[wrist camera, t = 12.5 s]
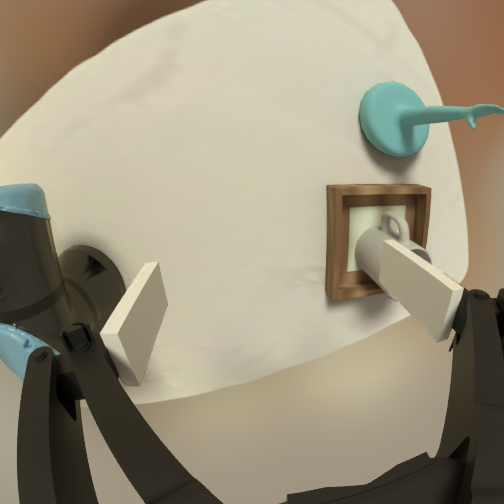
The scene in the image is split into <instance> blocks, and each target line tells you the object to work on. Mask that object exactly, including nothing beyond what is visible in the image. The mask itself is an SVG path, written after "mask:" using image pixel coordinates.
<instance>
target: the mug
mask: <svg viewBox="0 0 504 504" xmlns="http://www.w3.org/2000/svg"><path fill="white" fill-rule="evenodd" d="M391 219H392V220H394V221H395V222H396V223H397V225H398V228H399V233H397V232H396V231H394V230H392V229H391V227H390V220H391ZM383 240H395V241H396V242H398V243H400V244H401V245H403V246H404V247H406V248H407V249H409V250H410V251H412V252H413V253H415V254H416V255H418V256H419V257H421V258H422V259H424V260H425V261H427V262H428V263H430V264H431V265H432V260H431V257H430V255H429V253H428V252H427V251H426V250H425V249H424V248H422V247H421V246H419V245H418V244H416V243H414V242H413V241H411V240H410V239H409V227H408V224H407V222H406V220H405V219H404V218H403V217H402V216H401V215H400V214H398V213H395V212H391V211H389V212H385V213H383V215H382V217H381V225H376V226H373V227H370V228H369V229H367V230H366V231H365V232H364V233H363V234H362V235H361V236H360V238H359V240H358V242H357V244H356V248H355V257H356V261H357V263H358V265H359V266H360V268H361V269H362V270H363V271H364V272H366V273H367V274H368V275H369V276H370V277H371V278H372V279H373V280H374V281H375V282H376V283H377V284H378V285H379V286H380V287H381V288H382V289H383V290H384V291H385V292H386V293H387V294H388V295H389V296H390V297H391V298H392V299H393V300H395V301H398V300H397V299H396V298H395V297H394V296H393V295H392V294H391V293H390V292H389V291H388V290H387V289H386V288H385V287H384V286H383V285H382V284H381V283H380V282H379V275H380V267H381V257H382V247H383Z"/></svg>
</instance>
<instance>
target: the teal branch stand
mask: <svg viewBox="0 0 504 504" xmlns="http://www.w3.org/2000/svg"><path fill="white" fill-rule="evenodd" d="M493 113H501V114H504V108H500V107H499V106H497V105H491V104H478V105H475V106H472V107H456V106H430V107H425V106H424V104H423V102H422V100H421V99H420V98H419V97H418V95H417V94H416V93H415V92H414V91H413V90H411V89H410V88H408V87H407V86H405V85H404V84H400V83H397V82H393V81H392V82H385V83H380V84H377V85H375V86H374V87H373V88H371V89H370V90H368V91H367V92H366V93H365V95H364V97H363V99H362V100H361V103H360V110H359V117H360V122H361V127H362V129H363V131H364V133H365V136H366V138H367V139H368V141H369V142H370V143H371V144H372V145H373V146H374V147H375V148H376V149H377V150H379V151H381V152H383V153H385V154H387V155H390V156H397V157H407V156H410V155H413V154H415V153H417V152H418V151H419V150H420V149H421V148H422V147H423V146H424V144H425V142H426V140H427V138H428V133H429V124H431V123H440V122H448V121H453V120H459V119H463V118H466V120H467V122H468V124H469V125H470V126H471V128H472V129H473V130H474V129H475V124H474V122H475V121H476V119H477V118H480V117H483V116H486V115H489V114H493Z"/></svg>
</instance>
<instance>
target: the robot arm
mask: <svg viewBox="0 0 504 504" xmlns="http://www.w3.org/2000/svg"><path fill="white" fill-rule="evenodd" d="M50 220H51V217H50V215H49V214H48V209H47V204H46V199H45V194H44V191H43V189H42V188H41V187H40V186H39V185H37V184H33V183H27V184H14V185H6V186H0V358H1V360H2V361H3V362H4V363H5V364H6V366H7V367H8V368H9V369H11V371H12V372H14V373H15V374H16V375H17V376H18V377H20V378H21V379H22V380H24V382H23V388H22V395H21V402H20V410H19V411H20V412H19V421H18V437H17V477H18V491H19V501H20V504H98V500H97V497H96V493H95V489H94V486H93V482H92V477H91V473H90V468H89V463H88V458H87V453H86V448H85V442H84V435H83V427H82V419H81V409H80V400H82V399H85V400H86V402H87V404H88V406H89V409H90V411H91V413H92V415H93V417H94V419H95V421H96V424H97V425H98V427H99V430H100V432H101V433H102V435H103V437H104V439H105V441H106V443H107V445H108V446H109V448H110V450H111V452H112V454H113V455H114V457H115V459H116V460H117V462H118V464H119V465H120V467H121V468H122V470H123V472H124V473H125V475H126V476H127V478H128V479H129V481H130V482H131V484H132V485H133V487H134V488H135V489H136V491H137V492H138V494H139V495H140V496H141V498H142V499H143V501H144V502H145V504H223V503H222V502H221V501H220V500H219V499H218V498H216V497H215V496H214V495H213V494H212V493H211V492H210V491H209V490H208V489H207V488H206V487H205V486H204V485H203V484H202V483H200V482H199V481H198V480H197V479H195V478H194V477H193V476H192V475H191V474H190V473H189V472H188V471H187V470H186V469H185V468H184V467H183V466H182V465H181V463H179V461H178V460H177V459H176V458H175V457H174V456H173V455H172V453H171V452H170V451H169V450H168V449H167V447H166V446H165V445H164V444H163V443H162V441H161V440H160V439H159V437H158V436H157V435H156V434H155V433H154V431H153V430H152V429H151V427H150V426H149V425H148V423H147V422H146V421H145V419H144V418H143V417H142V415H141V414H140V412H139V411H138V410H137V408H136V407H135V405H134V404H133V402H132V401H131V399H130V398H129V396H128V395H127V393H126V392H125V390H124V389H123V387H122V385H121V384H120V382H119V381H118V378H119V376H120V378H121V380H122V382H123V384H124V385H125V386H141V383H142V380H143V376H144V373H145V370H146V367H147V364H148V361H149V358H150V355H151V352H152V349H153V346H154V343H155V340H156V337H157V334H158V331H159V328H160V325H161V323H162V320H163V317H164V314H165V311H166V309H167V306H168V302H167V298H166V294H165V289H164V285H163V281H162V276H161V272H160V267H159V262H150V263H145V265H144V266H143V268H142V269H141V271H140V272H139V273H138V275H137V276H136V278H135V279H134V281H133V282H132V284H131V285H130V287H129V288H128V290H127V291H126V293H125V287H124V282H123V279H122V277H121V274H120V272H119V270H118V269H117V267H116V266H115V264H114V263H113V262H112V261H111V260H110V259H109V258H108V257H107V256H106V255H105V254H104V253H102V252H101V251H99V250H97V249H95V248H93V247H90V246H85V245H78V246H73V247H71V248H69V249H67V250H66V251H64V252H63V253H62V254H61V255H60V256H59V257H57V253H56V249H55V244H54V239H53V234H52V229H51V223H50ZM379 282H380V283H381V284H382V285H383V286H384V287H385V288H386V289H387V290H388V291H389V292H390V293H391V294H392V295H393V296H394V297H395V298H396V299H397V300H398V301H399V302H400V303H401V305H402V306H403V307H404V308H405V309H406V310H407V311H408V312H409V313H410V314H411V315H412V316H413V317H414V318H415V319H416V320H417V321H418V322H419V323H420V325H421V326H422V327H423V328H424V329H425V330H426V331H427V332H428V333H429V334H430V335H431V337H432V338H433V339H434V340H435V341H436V342H437V343H438V342H440V341H443V340H446V339H448V337H449V334H450V332H451V329H452V328H453V329H454V330H455V331H456V333H455V336H454V339H453V342H452V344H451V346H450V349H449V351H451V349H452V348H453V361H452V374H451V384H450V393H449V400H448V407H447V413H446V418H445V424H444V429H443V433H442V438H441V443H440V446H439V450H438V452H437V454H436V456H435V458H430V457H429V456H428V454H427V452H425V453H423V454H421V455H418V456H416V457H414V458H412V459H409V460H407V461H405V462H402V463H400V464H398V465H396V466H395V467H393V468H392V469H391V470H389V471H387V472H386V473H384V474H383V475H381V476H380V477H378V478H377V479H375V480H373V481H372V482H370V483H368V484H365V485H358V486H344V487H325V488H320V489H315V490H310V491H305V492H300V493H294V494H287V501H286V502H283V503H280V504H504V288H503V289H500V290H499V293H498V296H497V298H491V297H490V296H489V295H488V294H487V293H486V292H484V291H482V290H478V289H473V290H470V291H468V290H467V289H465V288H464V287H463V286H461V285H460V284H459V283H457V282H455V280H453V279H452V278H450V277H449V276H448V275H446V274H445V273H443V272H441V271H440V270H438V269H437V268H435V267H434V266H433V265H431V264H430V263H428V262H427V261H425V260H424V259H422V258H421V257H419V256H418V255H416V254H415V253H413V252H412V251H410V250H409V249H407V248H406V247H404V246H403V245H401V244H400V243H398V242H396V241H395V240H383V247H382V257H381V267H380V275H379Z"/></svg>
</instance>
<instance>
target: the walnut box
mask: <svg viewBox="0 0 504 504" xmlns="http://www.w3.org/2000/svg"><path fill="white" fill-rule="evenodd" d="M430 204H431V188H429V187H425V186H421V185H415V184H346V185H327V253H326V281H325V290H326V292H327V294H328V295H329V297H330V298H331V300H332V301H338V300H344V299H351V298H357V297H363V296H369V295H375V294H380V293H386V292H385V291H384V290H383V289H382V288H381V287H380V286H379V285H378V284H377V283H376V282H375V281H374V280H373V279H372V278H371V277H370V276H369V275H368V274H367V273H366V272H364V271H363V270H362V269H361V268H360V266H359V265H358V263H357V261H356V257H355V248H356V244H357V242H358V240H359V238H360V236H361V235H362V234H363V233H364V232H365V231H366V230H367V229H369V228H370V227H373V226H376V225H381V217H382V215H383V213H385V212H389V211H391V212H395V213H398V214H400V215H401V216H402V217H403V218H404V219H405V220H406V222H407V224H408V227H409V239H410V240H411V241H413V242H414V243H416V244H418V245H419V246H421V247H422V248H424V249H425V250H426V244H427V236H428V227H429V217H430ZM390 227H391V229H392V230H394V231H396V232H397V233H399V228H398V225H397V223H396V222H395V221H394V220H392V219H391V220H390Z"/></svg>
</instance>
